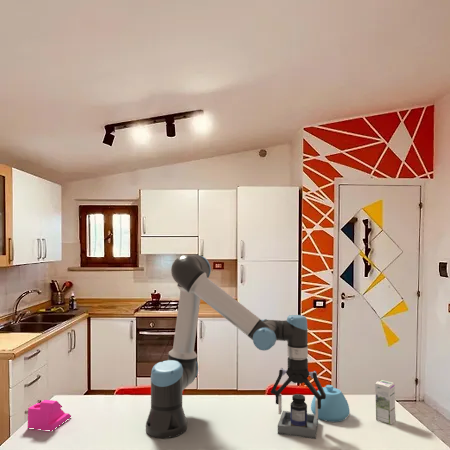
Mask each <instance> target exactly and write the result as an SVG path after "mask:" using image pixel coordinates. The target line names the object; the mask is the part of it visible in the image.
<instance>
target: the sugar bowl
mask: <svg viewBox="0 0 450 450" xmlns="http://www.w3.org/2000/svg"><path fill="white" fill-rule="evenodd" d="M322 388H323V390H324V392H325V394H326V398H325V399H322V400H321V409H318V420H322V421H325V422H330V423H331V422H332V423H333V422H334V423H336V422H337V423H338V422H342V421H344V420H346V419H347V418H348V417H349V415H350V412H351V411H350V405H349V403H348V400H347V398H346V397H345V395H344V393H343V392H342V391H341V389H339V388H336V387H334V385H332V384H326V385H325V386H324V387H323V386H322ZM317 392H318V393H319V394H320V392H319V390H318V389H317ZM320 395H321V394H320ZM315 400H316V397H315V396H314V395H313V397H312V399H311V405H310V411H311V413H313V414H315V415H316V411H315Z"/></svg>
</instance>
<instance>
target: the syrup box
mask: <svg viewBox="0 0 450 450" xmlns="http://www.w3.org/2000/svg"><path fill="white" fill-rule="evenodd" d="M374 386H375V387H374V389H375V390H374V391H375V392H374V393H375V420H376V421H378V422H381V423H384V424H387V425H392V424H393V423H394V422H396V390H395V389H396V384H395V382H392V381H388V380H383V379H379V380H377V381H376V382H375V384H374Z"/></svg>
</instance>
